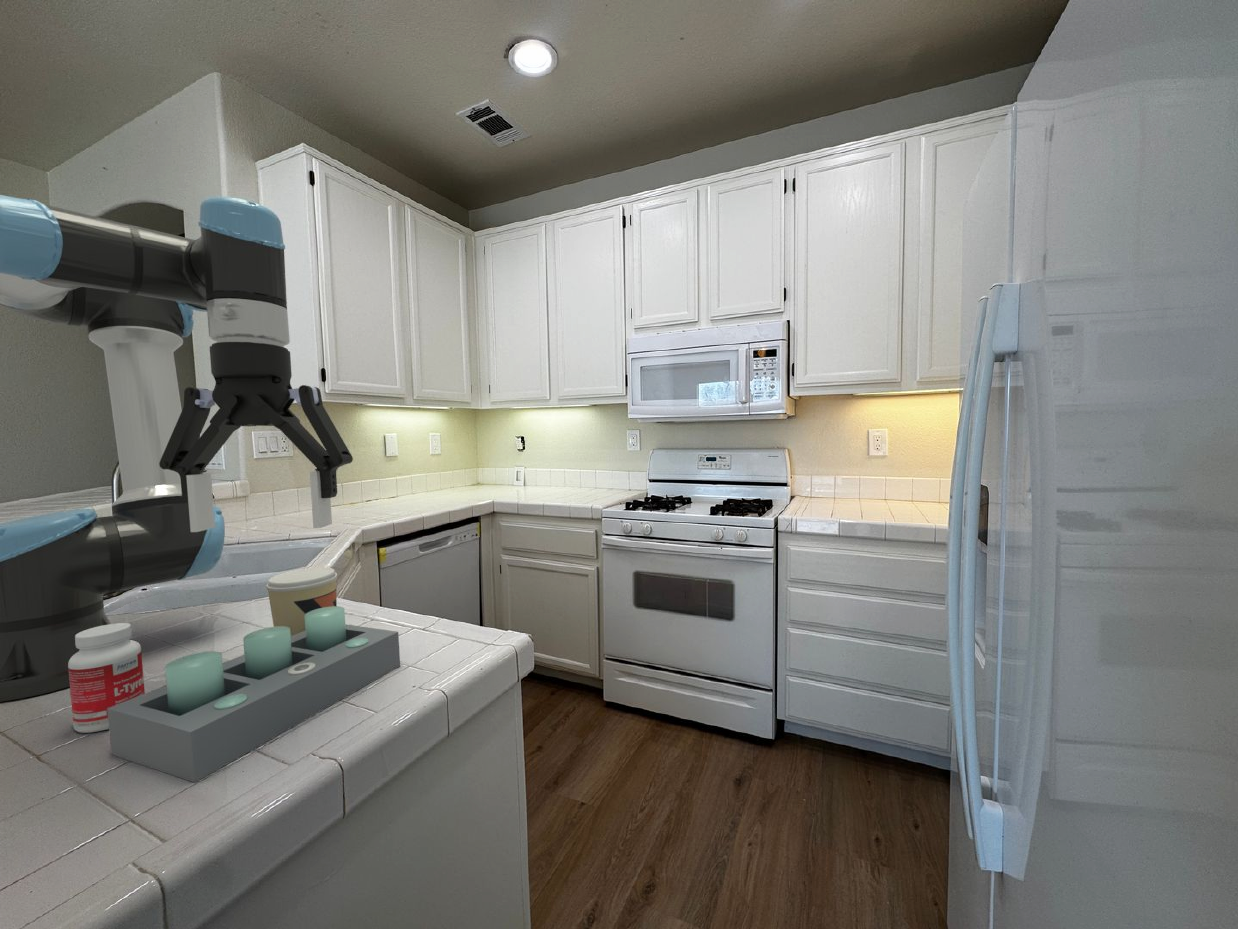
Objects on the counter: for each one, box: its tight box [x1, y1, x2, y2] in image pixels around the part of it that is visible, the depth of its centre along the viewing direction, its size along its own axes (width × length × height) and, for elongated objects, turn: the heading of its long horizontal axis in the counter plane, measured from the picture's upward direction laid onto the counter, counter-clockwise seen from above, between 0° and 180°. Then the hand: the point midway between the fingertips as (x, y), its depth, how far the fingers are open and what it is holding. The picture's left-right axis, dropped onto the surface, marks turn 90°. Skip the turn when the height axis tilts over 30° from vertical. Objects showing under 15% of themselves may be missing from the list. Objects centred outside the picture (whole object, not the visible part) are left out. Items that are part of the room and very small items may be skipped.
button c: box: [305, 606, 346, 652], centre depth 71 cm, size 5×5×5 cm
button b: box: [242, 626, 293, 680], centre depth 64 cm, size 5×5×5 cm
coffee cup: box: [266, 566, 338, 636], centre depth 79 cm, size 9×9×12 cm
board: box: [107, 623, 401, 784], centre depth 63 cm, size 14×26×5 cm, turn 159°
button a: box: [164, 650, 225, 716], centre depth 56 cm, size 5×5×5 cm
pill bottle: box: [68, 622, 146, 734], centre depth 61 cm, size 6×6×11 cm
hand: (263, 528), depth 60 cm, fingers open, 13 cm apart
